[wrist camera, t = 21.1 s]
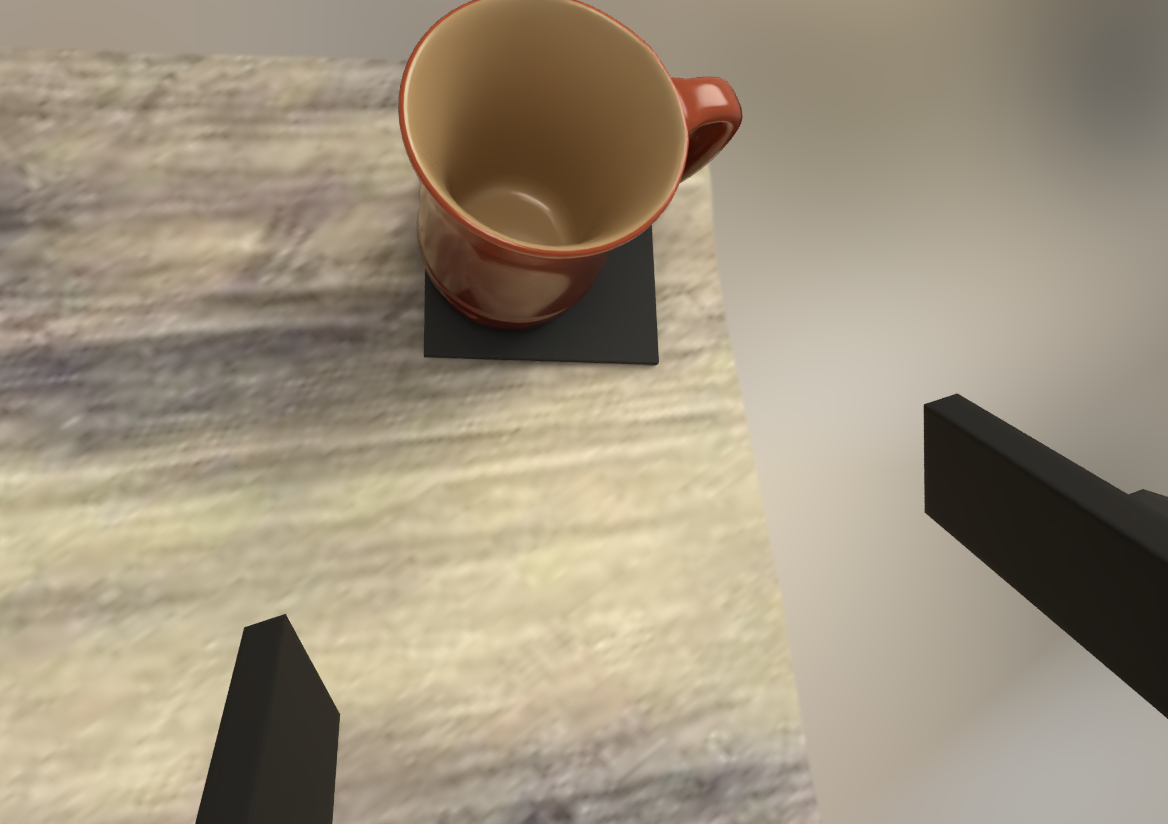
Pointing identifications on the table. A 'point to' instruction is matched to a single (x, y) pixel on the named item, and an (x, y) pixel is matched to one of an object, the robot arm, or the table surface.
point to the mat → (565, 320)
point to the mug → (544, 150)
